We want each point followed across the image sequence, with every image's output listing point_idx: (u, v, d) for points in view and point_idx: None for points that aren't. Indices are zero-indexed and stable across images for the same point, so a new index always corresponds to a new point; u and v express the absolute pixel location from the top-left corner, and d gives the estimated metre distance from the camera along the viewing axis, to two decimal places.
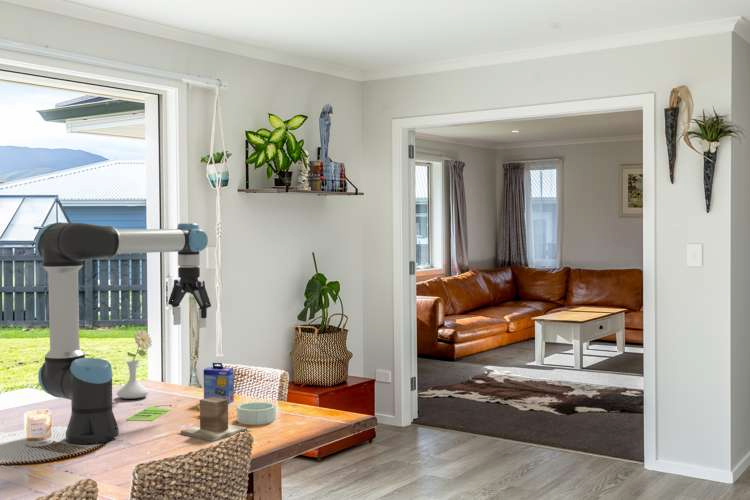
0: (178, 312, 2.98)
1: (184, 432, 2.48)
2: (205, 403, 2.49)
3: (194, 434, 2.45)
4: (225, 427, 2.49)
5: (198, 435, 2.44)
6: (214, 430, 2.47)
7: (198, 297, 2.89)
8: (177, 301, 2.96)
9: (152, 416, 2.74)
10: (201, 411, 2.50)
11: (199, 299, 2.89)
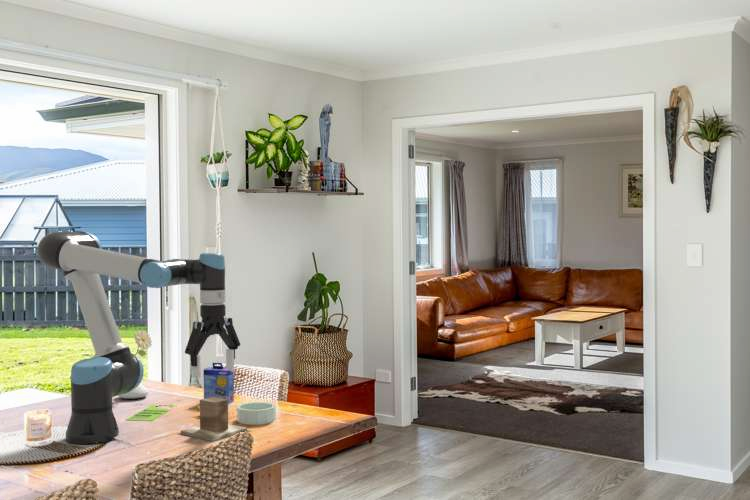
0: (229, 356, 2.55)
1: (184, 432, 2.48)
2: (205, 403, 2.49)
3: (194, 434, 2.45)
4: (225, 427, 2.49)
5: (198, 435, 2.44)
6: (214, 430, 2.47)
7: (197, 341, 2.46)
8: (226, 343, 2.55)
9: (152, 416, 2.74)
10: (201, 411, 2.50)
11: (196, 343, 2.45)
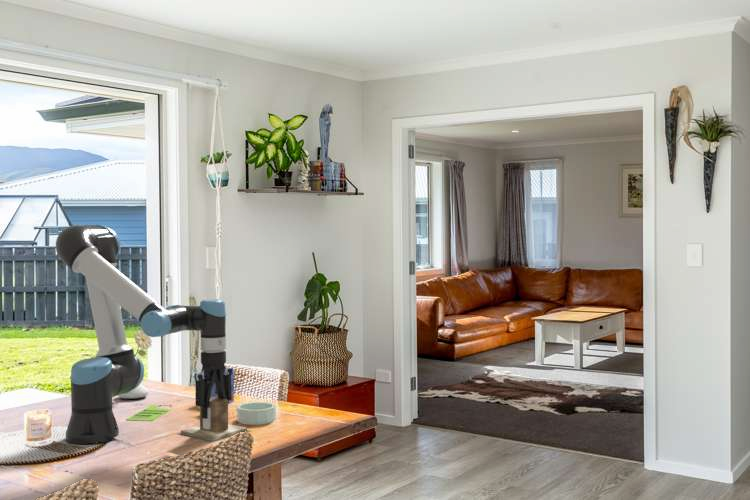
0: None
1: (184, 432, 2.48)
2: None
3: (194, 434, 2.45)
4: (225, 427, 2.49)
5: (198, 435, 2.44)
6: (214, 430, 2.47)
7: (203, 392, 2.48)
8: (219, 395, 2.53)
9: (152, 416, 2.74)
10: None
11: None
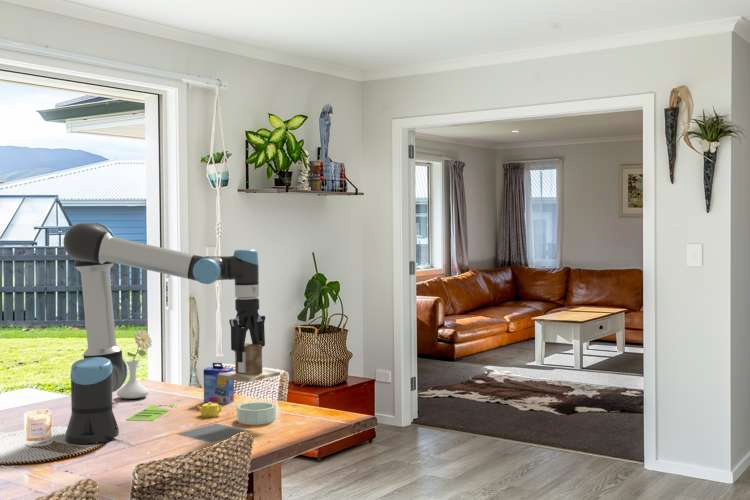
0: None
1: (220, 376, 2.60)
2: None
3: (230, 377, 2.57)
4: (259, 371, 2.61)
5: (234, 378, 2.56)
6: (249, 373, 2.58)
7: (238, 337, 2.59)
8: (253, 341, 2.64)
9: (152, 416, 2.74)
10: (236, 356, 2.62)
11: None
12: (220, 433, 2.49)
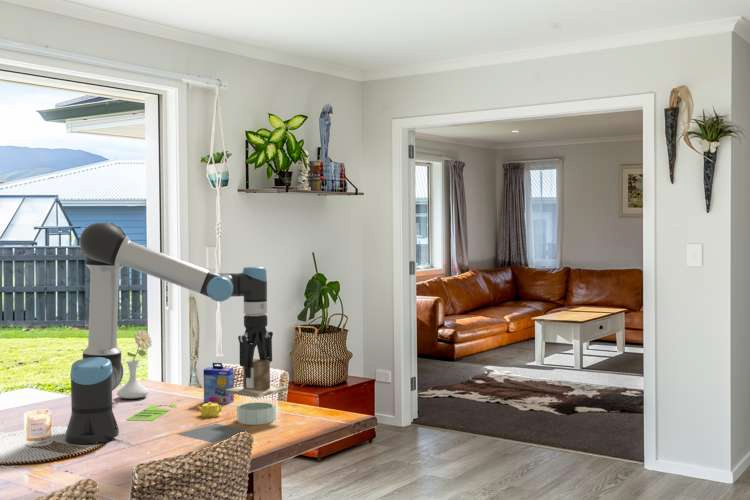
0: None
1: (229, 391, 2.64)
2: None
3: (239, 392, 2.61)
4: (267, 386, 2.65)
5: (243, 393, 2.60)
6: (257, 389, 2.62)
7: None
8: (260, 356, 2.68)
9: (152, 416, 2.74)
10: (244, 371, 2.65)
11: None
12: (220, 433, 2.49)
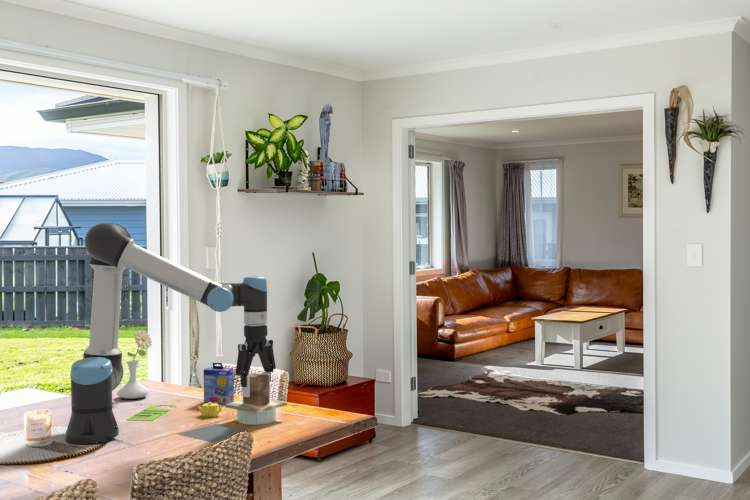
0: None
1: (228, 406, 2.64)
2: None
3: (238, 407, 2.61)
4: (267, 401, 2.65)
5: (242, 408, 2.60)
6: (257, 404, 2.62)
7: (244, 362, 2.63)
8: (263, 364, 2.69)
9: (152, 416, 2.74)
10: None
11: None
12: (220, 433, 2.49)
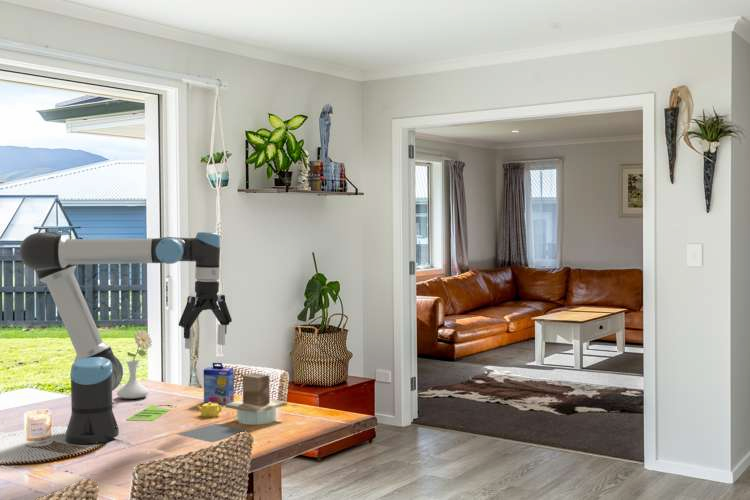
0: (221, 331, 2.68)
1: (228, 406, 2.64)
2: (248, 379, 2.64)
3: (238, 407, 2.61)
4: (267, 401, 2.65)
5: (242, 408, 2.60)
6: (257, 404, 2.62)
7: (191, 314, 2.59)
8: (218, 318, 2.68)
9: (152, 416, 2.74)
10: (244, 386, 2.66)
11: (189, 317, 2.59)
12: (220, 433, 2.49)
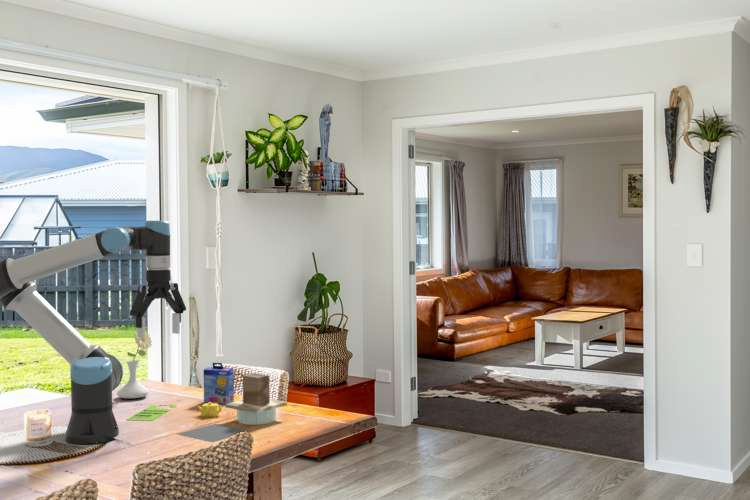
0: (175, 320, 2.67)
1: (228, 406, 2.64)
2: (248, 379, 2.64)
3: (238, 407, 2.61)
4: (267, 401, 2.65)
5: (242, 408, 2.60)
6: (257, 404, 2.62)
7: (142, 304, 2.57)
8: (172, 307, 2.66)
9: (152, 416, 2.74)
10: (244, 386, 2.66)
11: (141, 306, 2.57)
12: (220, 433, 2.49)
